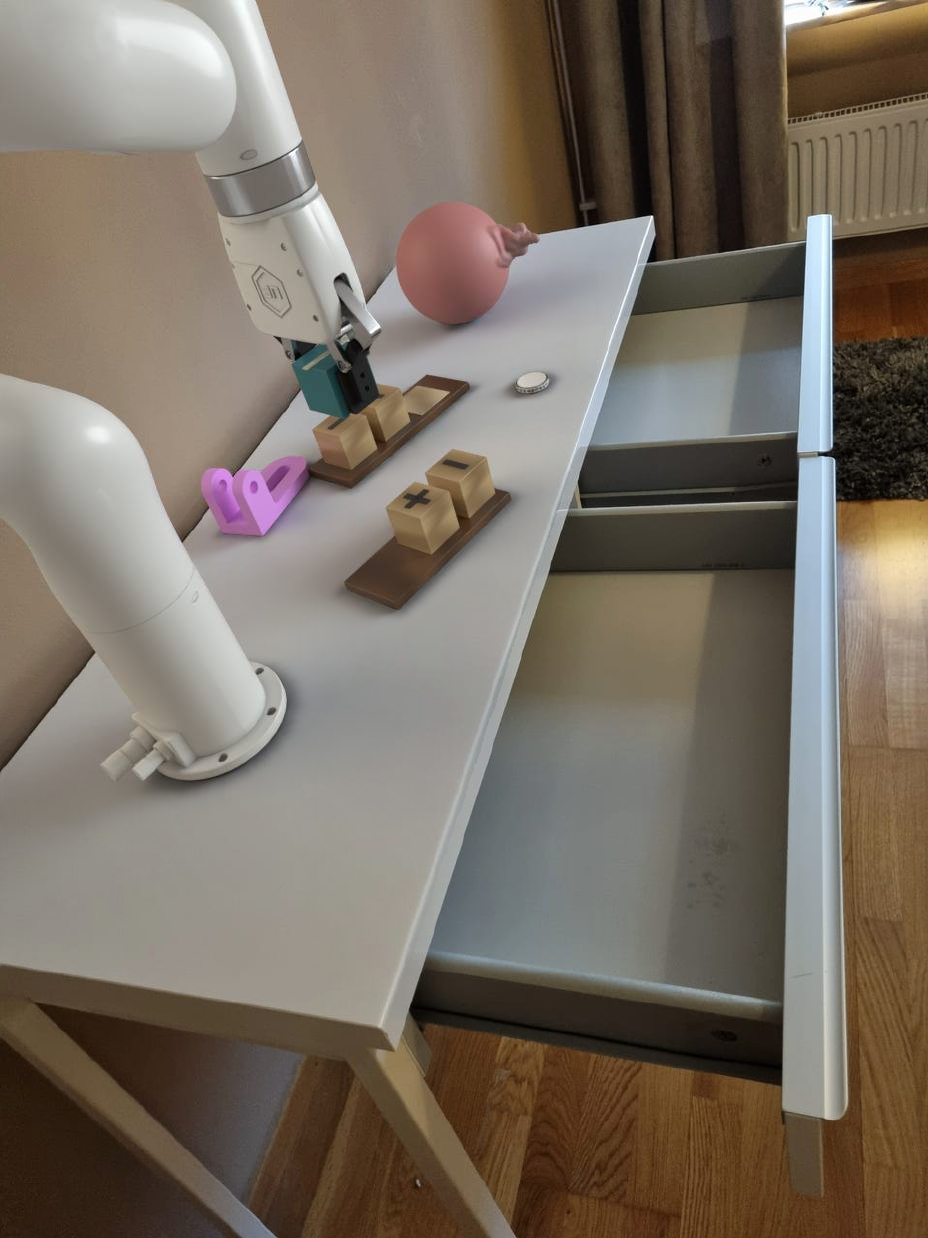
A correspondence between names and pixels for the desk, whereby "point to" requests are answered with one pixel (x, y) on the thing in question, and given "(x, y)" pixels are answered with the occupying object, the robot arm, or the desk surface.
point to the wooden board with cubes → (430, 527)
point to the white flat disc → (532, 382)
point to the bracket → (253, 494)
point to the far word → (380, 428)
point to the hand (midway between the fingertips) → (343, 398)
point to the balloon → (457, 261)
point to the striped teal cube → (322, 381)
